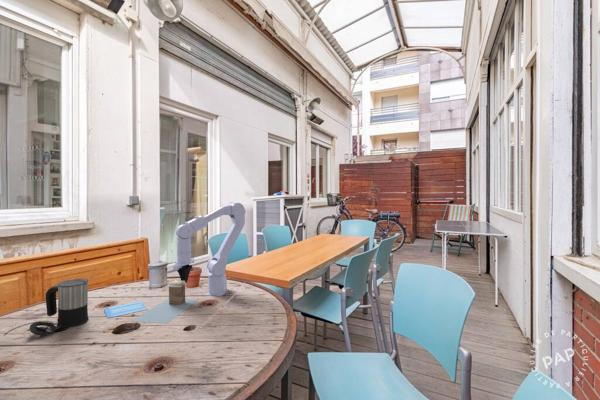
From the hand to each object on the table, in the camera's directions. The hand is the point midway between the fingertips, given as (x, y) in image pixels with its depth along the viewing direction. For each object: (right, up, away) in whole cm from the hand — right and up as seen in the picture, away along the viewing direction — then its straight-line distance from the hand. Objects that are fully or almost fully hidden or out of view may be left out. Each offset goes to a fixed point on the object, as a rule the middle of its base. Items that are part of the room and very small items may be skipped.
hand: (184, 282), depth 132 cm
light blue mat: (-2, -8, -13) cm, 15 cm away
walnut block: (-1, -7, -6) cm, 9 cm away
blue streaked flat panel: (-19, -9, -13) cm, 24 cm away
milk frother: (-33, -8, -27) cm, 43 cm away
